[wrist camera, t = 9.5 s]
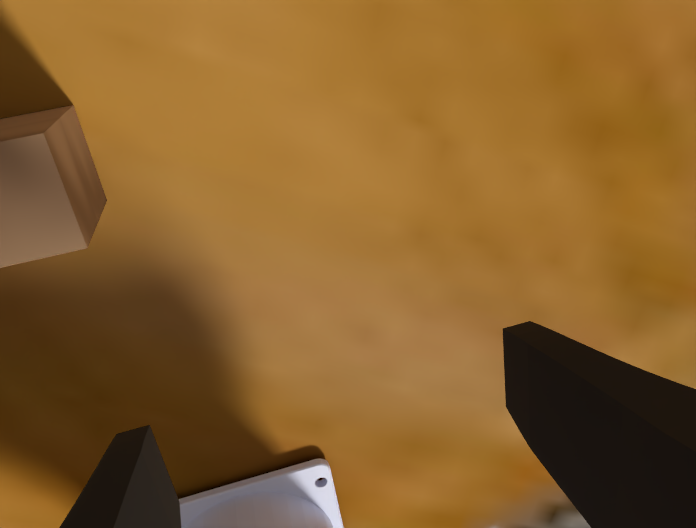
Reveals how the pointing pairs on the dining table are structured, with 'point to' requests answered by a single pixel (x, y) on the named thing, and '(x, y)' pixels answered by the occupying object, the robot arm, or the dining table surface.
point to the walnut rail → (46, 186)
